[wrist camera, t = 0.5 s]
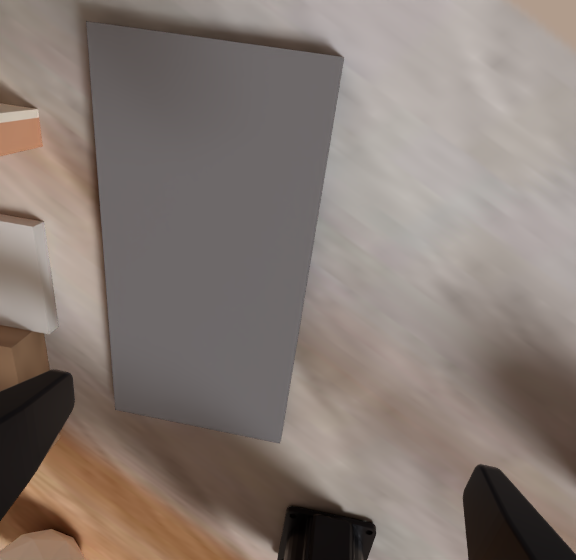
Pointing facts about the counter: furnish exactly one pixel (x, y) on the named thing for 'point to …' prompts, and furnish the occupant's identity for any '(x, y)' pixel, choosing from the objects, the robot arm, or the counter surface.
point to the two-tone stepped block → (24, 300)
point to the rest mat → (207, 218)
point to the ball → (42, 547)
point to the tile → (19, 129)
